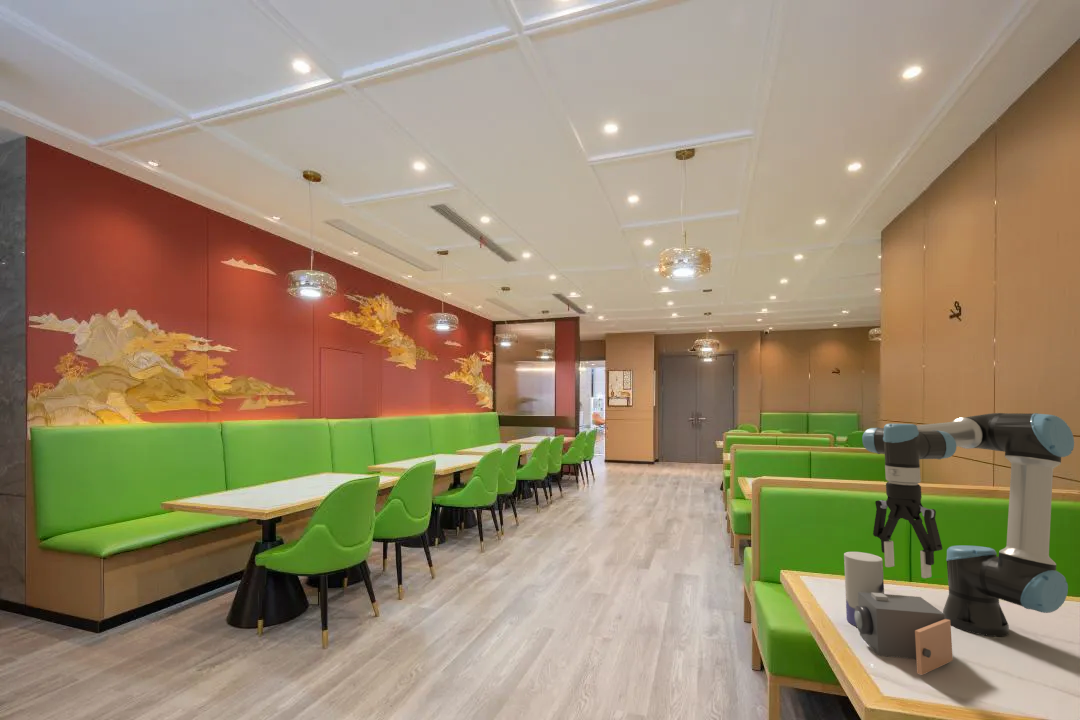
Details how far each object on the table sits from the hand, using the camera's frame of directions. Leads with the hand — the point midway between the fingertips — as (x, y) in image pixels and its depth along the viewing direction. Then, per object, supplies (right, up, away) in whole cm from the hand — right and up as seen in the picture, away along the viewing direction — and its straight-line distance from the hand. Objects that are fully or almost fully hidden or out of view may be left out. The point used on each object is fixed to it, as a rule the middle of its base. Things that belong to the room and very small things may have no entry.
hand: (907, 571), depth 131 cm
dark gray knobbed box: (+2, -24, +8) cm, 25 cm away
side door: (+4, -22, -5) cm, 23 cm away
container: (+4, -26, +23) cm, 34 cm away
